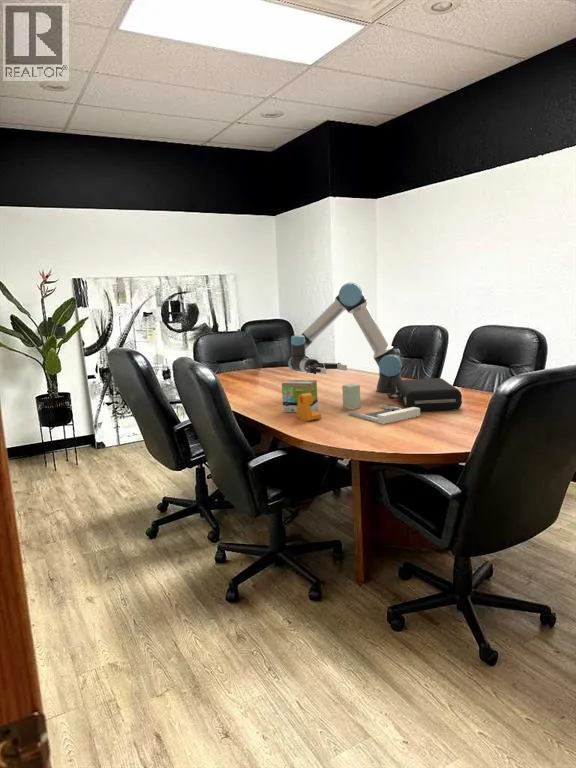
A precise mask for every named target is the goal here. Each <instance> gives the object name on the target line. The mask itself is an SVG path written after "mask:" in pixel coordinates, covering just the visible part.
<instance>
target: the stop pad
mask: <svg viewBox="0 0 576 768" xmlns="http://www.w3.org/2000/svg"><path fill="white" fill-rule="evenodd" d="M387 412H392V410H388V409H383V410H380V411H374V412H369V413H365V415H368V416H372V417H376V418H377V415H378V414H382V413H387Z"/></svg>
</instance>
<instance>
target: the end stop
mask: <svg viewBox="0 0 576 768" xmlns="http://www.w3.org/2000/svg"><path fill="white" fill-rule="evenodd" d="M419 415H420V416H421V412H420V408H417V407H411V408H406V407H405V408H402V409H401V410H397V411H392V412H387V413H382V414H378V415H377V422H378V424H381V423H382V425H386V423H387V424H390V423H395V421H396V422H399V420H400V421H403V420H404V421H405V420H408V418H409V419H413V418H417V417H416V416H418V417H420V416H419ZM412 417H413V418H412ZM377 422H376V423H377Z"/></svg>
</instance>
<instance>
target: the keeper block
mask: <svg viewBox="0 0 576 768" xmlns="http://www.w3.org/2000/svg"><path fill="white" fill-rule="evenodd" d="M360 387H361V385H360V384H355V383H348V384H343V385H341V389H342V407H345V408H344V409H347V408H349V409H348V410H353V408H355V409H359V408H358V407H360V408H361V388H360Z"/></svg>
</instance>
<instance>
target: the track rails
mask: <svg viewBox="0 0 576 768" xmlns="http://www.w3.org/2000/svg"><path fill="white" fill-rule="evenodd" d="M384 408H385V409H384ZM380 409H384V410H388V409H389V410H394V411H397V410H401V409H403V408H401V407H397V406H392V405H387V404H383V403H382V404H380ZM348 414H349V415H348ZM365 414H366V413H365ZM365 414H364V413H360V412H357V411H353V410H347V415H348V416H352V415H353V416H352V417H355V416H356V418H359V417H360V419H363V420H366V419H367V421H370V420H371V422H374V423H377V418H376V417H372V416H368V415H365Z"/></svg>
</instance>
